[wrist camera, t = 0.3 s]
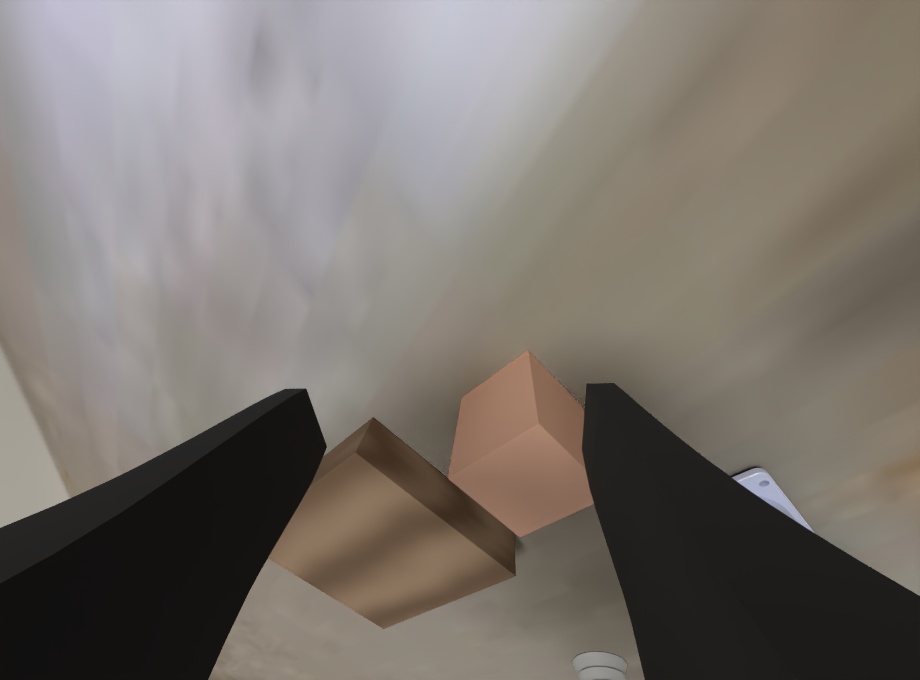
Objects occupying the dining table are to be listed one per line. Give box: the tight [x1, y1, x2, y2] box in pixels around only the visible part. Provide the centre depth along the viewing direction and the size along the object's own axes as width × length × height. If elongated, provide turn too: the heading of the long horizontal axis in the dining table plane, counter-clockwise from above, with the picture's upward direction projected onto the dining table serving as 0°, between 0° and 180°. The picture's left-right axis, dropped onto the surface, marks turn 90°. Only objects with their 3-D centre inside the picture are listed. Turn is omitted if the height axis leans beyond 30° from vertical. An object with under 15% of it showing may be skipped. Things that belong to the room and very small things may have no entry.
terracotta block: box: [448, 350, 594, 537], centre depth 17 cm, size 5×5×6 cm
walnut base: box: [268, 418, 516, 629], centre depth 25 cm, size 14×14×3 cm
